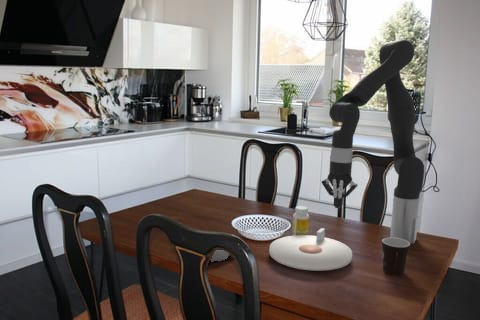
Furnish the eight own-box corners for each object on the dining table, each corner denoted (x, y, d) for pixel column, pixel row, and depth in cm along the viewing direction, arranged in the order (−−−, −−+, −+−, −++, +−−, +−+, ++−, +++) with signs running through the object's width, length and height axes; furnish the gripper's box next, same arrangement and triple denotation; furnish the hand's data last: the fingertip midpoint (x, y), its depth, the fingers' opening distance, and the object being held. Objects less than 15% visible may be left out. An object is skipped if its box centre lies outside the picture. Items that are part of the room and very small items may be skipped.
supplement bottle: (288, 234, 188) (289, 207, 186) (299, 231, 192) (301, 204, 190) (300, 239, 183) (301, 211, 181) (311, 236, 187) (313, 208, 185)
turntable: (360, 248, 171) (361, 234, 170) (338, 277, 146) (339, 262, 146) (287, 234, 183) (288, 221, 183) (255, 259, 159) (256, 244, 158)
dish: (197, 265, 158) (197, 251, 157) (190, 249, 171) (190, 236, 170) (239, 261, 162) (240, 247, 161) (229, 246, 175) (229, 233, 174)
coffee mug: (386, 263, 162) (388, 235, 160) (411, 270, 157) (414, 241, 155) (371, 274, 153) (373, 245, 151) (397, 282, 148) (400, 252, 146)
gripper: (362, 160, 167) (358, 208, 171) (326, 156, 173) (323, 202, 177) (357, 163, 161) (353, 213, 164) (319, 159, 167) (316, 207, 170)
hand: (337, 207), depth 170 cm, fingers closed
